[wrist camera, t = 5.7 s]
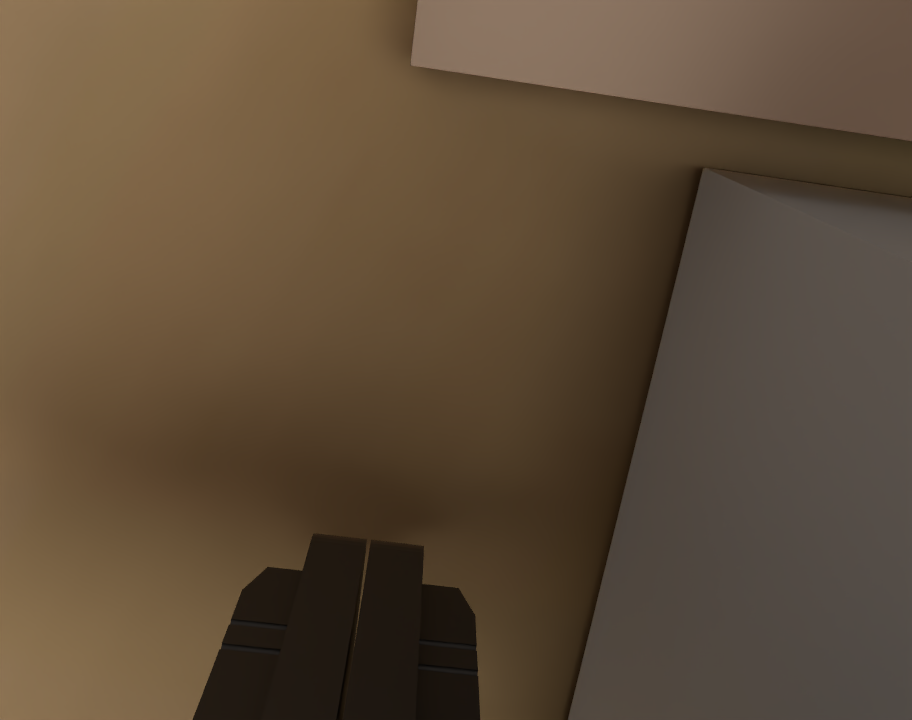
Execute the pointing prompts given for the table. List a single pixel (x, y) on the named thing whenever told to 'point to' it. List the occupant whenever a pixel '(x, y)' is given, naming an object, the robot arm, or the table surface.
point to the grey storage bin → (769, 472)
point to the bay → (693, 54)
